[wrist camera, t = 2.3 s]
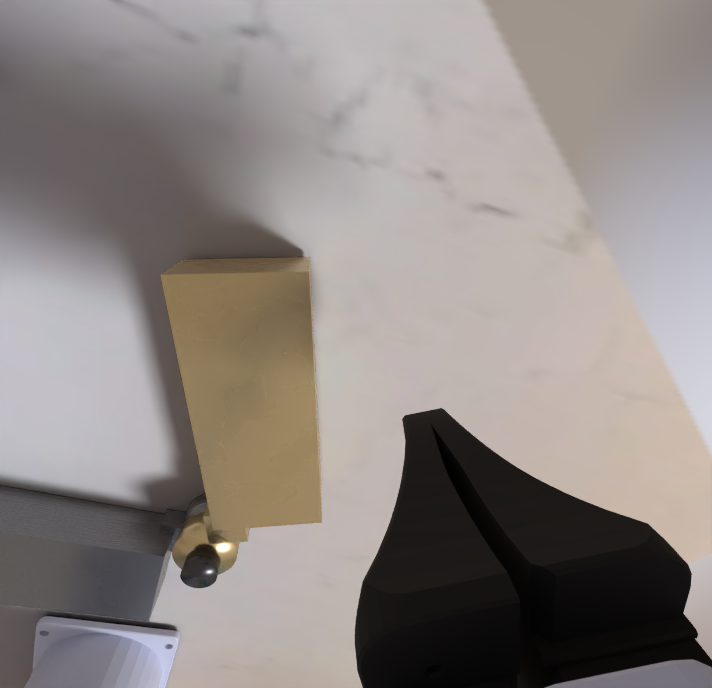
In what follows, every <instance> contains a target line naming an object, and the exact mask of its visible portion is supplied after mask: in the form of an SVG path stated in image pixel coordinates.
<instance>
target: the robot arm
mask: <svg viewBox="0 0 712 688" xmlns="http://www.w3.org/2000/svg"><path fill="white" fill-rule="evenodd" d="M402 420H403V427H404V433H405V440H406V444H405V459H404V467H403V473H402V479H401V484H400V489H399V493H398V497H397V501H396V505H395V508H394V511H393V514H392V518H391V521H390V523H389V526H388V529H387V531H386V534H385V536H384V539H383V541H382V543H381V546H380V548H379V551H378V553H377V555H376V557H375V559H374V561H373V563H372V565H371V567H370V569H369V571H368V572H367V574H366V576H365V578H364V580H363V584H362V588H361V593H360V598H359V604H358V609H357V616H356V625H355V649H356V659H357V670H358V674H359V677H360V680H361V683H362V686H363V688H712V660H711V659H710V657H709V656H708V655H707V654H706V652H705V651H704V650H703V649H702V647H701V646H700V645H699V644H698V642H697V641H696V640H695V638H697V636H698V633H697V631H696V629H695V628H694V626H693V625H692V624H691V622H690V621H689V620H688V619H687V618H686V617H685V615H684V614H683V612H684V608H685V605H686V601H687V598H688V594H689V590H690V586H691V575H692V574H691V571H690V568H689V566H688V564H687V563H686V562H685V561H684V560H683V559H682V558H681V557H680V555H679V554H678V553H677V552H676V551H675V550H674V549H673V548H672V547H671V546H670V545H669V544H668V543H667V541H666V540H665V539H664V538H663V537H661V536H660V535H659V534H658V533H657V532H656V531H655V530H654V529H653V528H652V527H651V526H650V525H649V524H647V523H644V522H641V521H638V520H635V519H632V518H629V517H626V516H623V515H620V514H617V513H614V512H611V511H608V510H605V509H603V508H600V507H598V506H595V505H593V504H590V503H588V502H585V501H583V500H580V499H578V498H575V497H573V496H571V495H569V494H566V493H564V492H562V491H560V490H558V489H556V488H554V487H552V486H550V485H548V484H546V483H544V482H542V481H540V480H538V479H536V478H534V477H532V476H531V475H529V474H527V473H526V472H524V471H522V470H520V469H519V468H517V467H516V466H514V465H512V464H511V463H509V462H508V461H506V460H505V459H503V458H502V457H501V456H499V455H498V454H496V453H495V452H494V451H492V450H491V449H490V448H488V447H487V446H486V445H484V444H483V443H482V442H480V441H479V440H478V439H477V438H475V437H474V436H473V435H472V434H471V433H469V432H468V431H467V430H466V429H465V428H464V427H462V426H461V425H460V424H459V423H458V422H457V421H456V420H455V419H453V418H452V417H451V416H450V415H449V414H448V413H447V412H446V411H445V410H444V409H442V408H440V409H435V410H430V411H425V412H420V413H415V414H410V415H405V416H404V418H403V419H402ZM179 639H180V634H179V633H178V632H177V631H173V630H165V629H156V628H147V627H139V626H130V625H121V624H113V623H104V622H95V621H87V620H78V619H69V618H61V617H52V616H45V617H42V618H41V619H40V620H39V621H38V623H37V625H36V630H35V642H34V654H33V666H32V674H31V676H30V678H29V680H28V682H27V683H26V685H25V687H24V688H165V686H166V683H167V679H168V676H169V673H170V669H171V666H172V662H173V659H174V656H175V652H176V649H177V646H178V642H179Z"/></svg>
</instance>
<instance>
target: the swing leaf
mask: <svg viewBox="0 0 712 688" xmlns="http://www.w3.org/2000/svg"><path fill="white" fill-rule="evenodd" d="M160 276H161V281H162V286H163V291H164V296H165V300H166V305H167V310H168V315H169V320H170V325H171V329H172V334H173V339H174V344H175V349H176V354H177V358H178V363H179V368H180V373H181V378H182V382H183V387H184V392H185V397H186V402H187V407H188V411H189V416H190V421H191V426H192V431H193V436H194V440H195V445H196V450H197V455H198V460H199V465H200V469H201V474H202V479H203V484H204V489H205V494H206V498H207V506H206V509H205V512H204V513H199V514H196V515H194V516H191V517H190V518H188V519H187V520H186V521H185V522H184V523H183V525H182V526H181V529H180V532H179V534H178V537H177V540H176V542H175V545H174V548H173V551H172V556H173V559H174V561H175V563H176V564H177V566H179V567H180V568H181V569H182V568H183V565H184V562H185V559H186V557H187V555H188V554H189V553H190V552H191V551H193V550H197V549H209V550H212V551H214V552H215V553H217V554H218V555H219V557H220V560H221V562H220V566H219V570H218V574H221V573H223V572H225V571H227V570H228V569H230V568H231V567H232V566H233V564H234V563H235V561H236V558H237V553H238V548H239V543H240V542H245V541H248V536H249V530H250V528H254V527H267V526H281V525H294V524H307V523H321V522H322V501H321V470H320V449H319V429H318V408H317V388H316V367H315V347H314V327H313V306H312V286H311V265H310V257H285V258H236V259H187V260H181V261H179V262H178V263H176V264H175V265H174V266H172V267H171V268H169V269H168V270H166V271H165V272H164V273H162V274H161V275H160Z"/></svg>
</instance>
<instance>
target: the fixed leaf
mask: <svg viewBox="0 0 712 688" xmlns="http://www.w3.org/2000/svg"><path fill="white" fill-rule="evenodd" d="M206 506H207V498H206V494H204V495H201V496H199V497H197V498H196V499H194V500H193V501H192V502H191V504H190V505H189V508H188V510H187V513H186V512H180V511H175V510H169V509H168V510H167V512H166V514H160V513H154V512H149V511H143V510H137V509H132V508H126V507H120V506H115V505H109V504H103V503H97V502H92V501H86V500H80V499H75V498H69V497H63V496H58V495H52V494H46V493H41V492H35V491H29V490H23V489H18V488H12V487H6V486H1V485H0V604H6V605H15V606H23V607H31V608H40V609H48V610H57V611H65V612H74V613H82V614H90V615H99V616H107V617H116V618H124V619H133V620H141V621H149V619H150V616H151V614H152V611H153V608H154V605H155V603H156V600H157V597H158V595H159V592H160V589H161V586H162V584H163V581H164V578H165V574H166V570H167V566H168V562H169V558H170V555H171V552H172V551H173V548H174V545H175V542H176V540H177V537H178V534H179V532H180V529H181V526H182V525H183V523H184V522H185V521H186V520H187V519H188V518H190V517H191V516H194V515H196V514H199V513H204V512H205V509H206ZM220 562H221V560H220V557H219V555H218V554H217V553H215V552H214V551H212V550H209V549H197V550H193V551H191V552H190V553H189V554H188V555H187V557H186V559H185V562H184V565H183V568H182V571H181V575H180V577H181V580H182V581H183V582H184V583H185V584H186V585H188V586H190V587H194V588H204V587H208V586H210V585H212V584H213V583H214V582H215V581H216V579H217V574H218V570H219V566H220Z"/></svg>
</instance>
